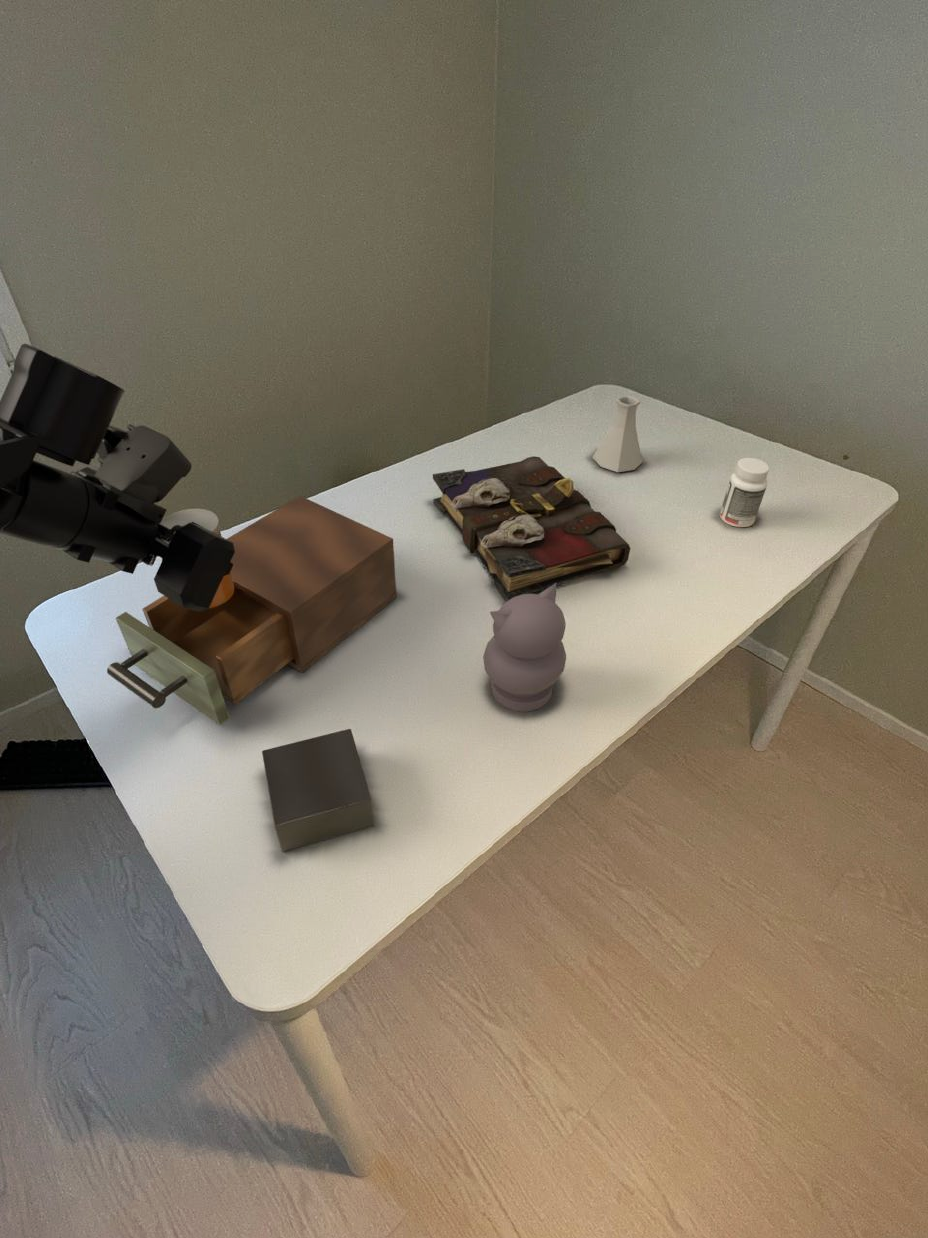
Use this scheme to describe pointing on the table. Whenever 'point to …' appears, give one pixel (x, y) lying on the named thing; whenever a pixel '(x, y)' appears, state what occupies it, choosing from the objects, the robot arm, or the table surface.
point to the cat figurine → (526, 650)
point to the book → (529, 525)
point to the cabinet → (315, 573)
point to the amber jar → (209, 523)
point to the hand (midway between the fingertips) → (211, 558)
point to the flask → (621, 439)
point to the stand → (317, 789)
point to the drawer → (204, 651)
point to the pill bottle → (745, 492)
